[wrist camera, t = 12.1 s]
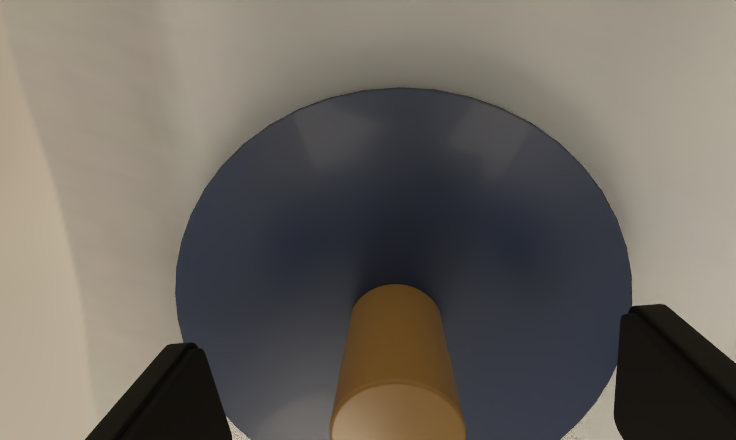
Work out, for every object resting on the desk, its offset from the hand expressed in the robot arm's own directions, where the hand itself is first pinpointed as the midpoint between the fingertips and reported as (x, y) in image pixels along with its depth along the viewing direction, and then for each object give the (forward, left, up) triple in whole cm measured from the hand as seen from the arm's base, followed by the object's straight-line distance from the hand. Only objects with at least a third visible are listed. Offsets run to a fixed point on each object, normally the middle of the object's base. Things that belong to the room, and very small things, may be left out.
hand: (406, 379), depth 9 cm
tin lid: (+1, 0, -4) cm, 4 cm away
